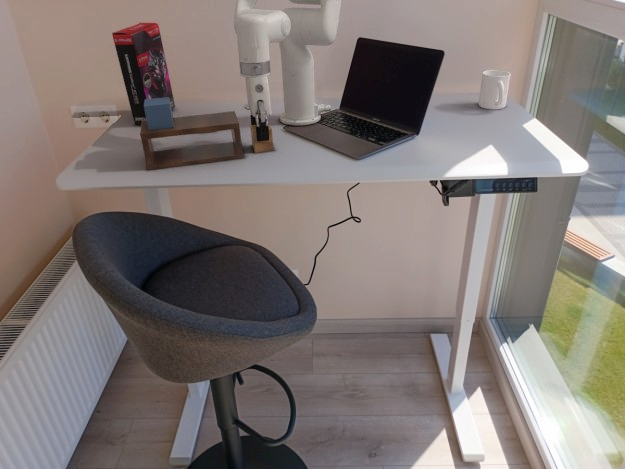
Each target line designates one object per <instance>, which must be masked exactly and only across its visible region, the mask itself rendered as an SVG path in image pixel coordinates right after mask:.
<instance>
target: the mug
mask: <svg viewBox="0 0 625 469" xmlns="http://www.w3.org/2000/svg"><path fill="white" fill-rule="evenodd" d="M511 76H512V74H511V72H509V71H507V70H503V69H487V70H483V71H482V75H481V80H480V81H481V82H480V89H479V95H478V106H479V107H480V108H482V109H485V110H494V111H496V110H502V109H503V108H505V107H506V105H507V99H508V94H509V87H510V81H511Z"/></svg>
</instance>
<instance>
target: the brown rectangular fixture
mask: <svg viewBox="0 0 625 469" xmlns="http://www.w3.org/2000/svg"><path fill="white" fill-rule="evenodd" d="M173 123H174V127H173V128H165V129H156V130H149V129H148V124H147V121H142V123H141V125H140V130H139V135H140V140H141V145H142V150H143V154H144V159H145V162H146V167H147V170H148V171H151V170H159V169H166V168H167V169H168V168H174V167H183V166H184V167H185V166H192V165H200V164H206V163H207V164H208V163H216V162H222V161H223V162H225V161H230V160H239V159H244V154H243V144H242V137H241V128H240V121H239V119H238V116H237V113H236V112H235V110H232V111H224V112H213V113H205V114H204V113H203V114H196V115H185V116H177V117H173ZM228 130H229V131H231V140H232V141H230V142H221V143H212V144H205V145H204V144H203V145H197V146H188V147H178V148H170V149H164V150H163V149H162V150H154V145H153V140H154V139H160V138H161V139H162V138H168V137H178V136H186V135H195V134H196V135H197V134H205V133H211V132H221V131H228Z"/></svg>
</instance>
